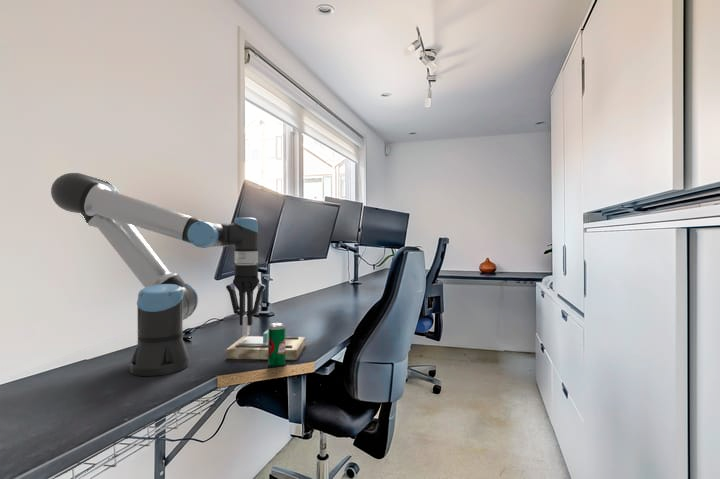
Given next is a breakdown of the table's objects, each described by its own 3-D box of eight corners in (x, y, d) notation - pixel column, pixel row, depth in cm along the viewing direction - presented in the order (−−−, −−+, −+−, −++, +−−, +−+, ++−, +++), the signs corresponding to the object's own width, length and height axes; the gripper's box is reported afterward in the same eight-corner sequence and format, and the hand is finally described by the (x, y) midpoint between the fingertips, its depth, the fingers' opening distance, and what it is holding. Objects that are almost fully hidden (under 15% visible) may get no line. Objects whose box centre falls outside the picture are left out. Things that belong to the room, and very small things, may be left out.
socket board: (226, 358, 122) (226, 347, 122) (243, 344, 138) (243, 334, 138) (296, 359, 121) (296, 348, 121) (305, 345, 137) (305, 335, 137)
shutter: (238, 345, 125) (238, 333, 125) (247, 338, 134) (247, 327, 134) (266, 346, 125) (266, 334, 125) (273, 338, 134) (273, 327, 134)
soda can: (281, 368, 114) (281, 326, 114) (265, 366, 115) (265, 325, 115) (288, 362, 119) (288, 323, 118) (272, 361, 120) (272, 322, 120)
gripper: (222, 264, 126) (222, 337, 126) (262, 265, 126) (262, 338, 126) (230, 263, 134) (230, 332, 134) (268, 263, 133) (268, 332, 133)
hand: (246, 335), depth 130 cm, fingers closed
